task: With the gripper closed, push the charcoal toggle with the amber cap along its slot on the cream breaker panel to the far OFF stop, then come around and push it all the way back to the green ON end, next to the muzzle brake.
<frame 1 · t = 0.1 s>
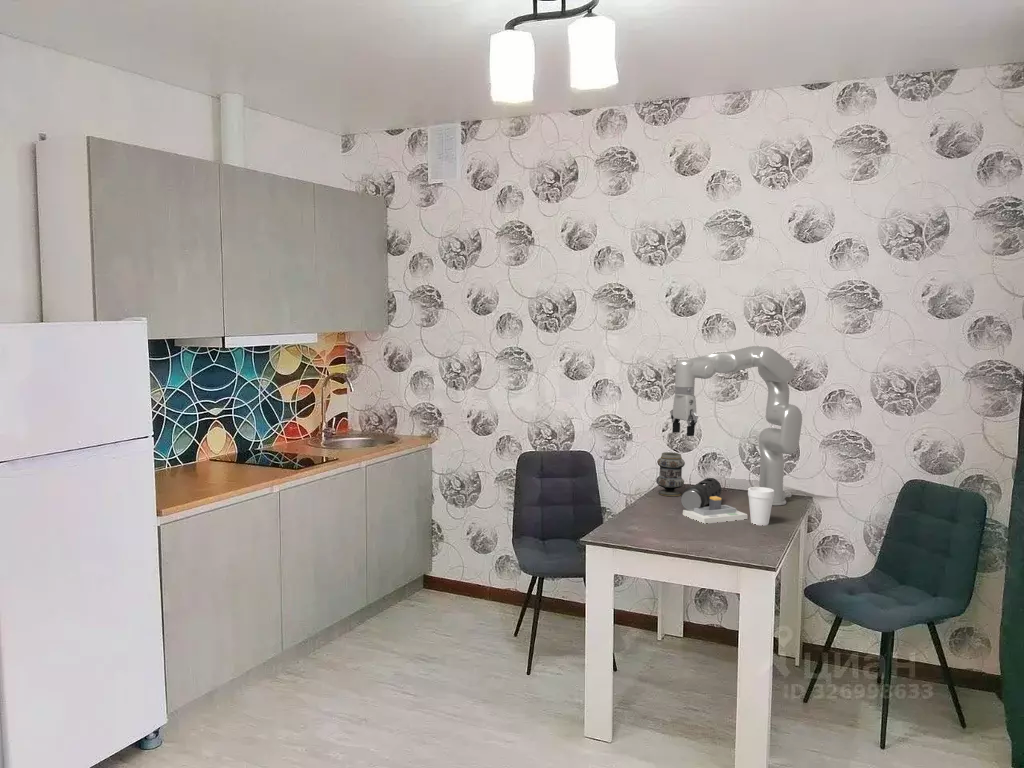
hand: (683, 434, 318), 31 cm above the table, tool pointing down, fingers open, 9 cm apart
foam cup: (759, 523, 304), on the table
apothecary jar: (669, 494, 352), on the table
breaker panel: (714, 517, 312), on the table
muzzle brake: (701, 508, 325), on the table, touching breaker panel
breaker lever: (715, 504, 311), point 5 cm above the table, slide at 0.0 cm
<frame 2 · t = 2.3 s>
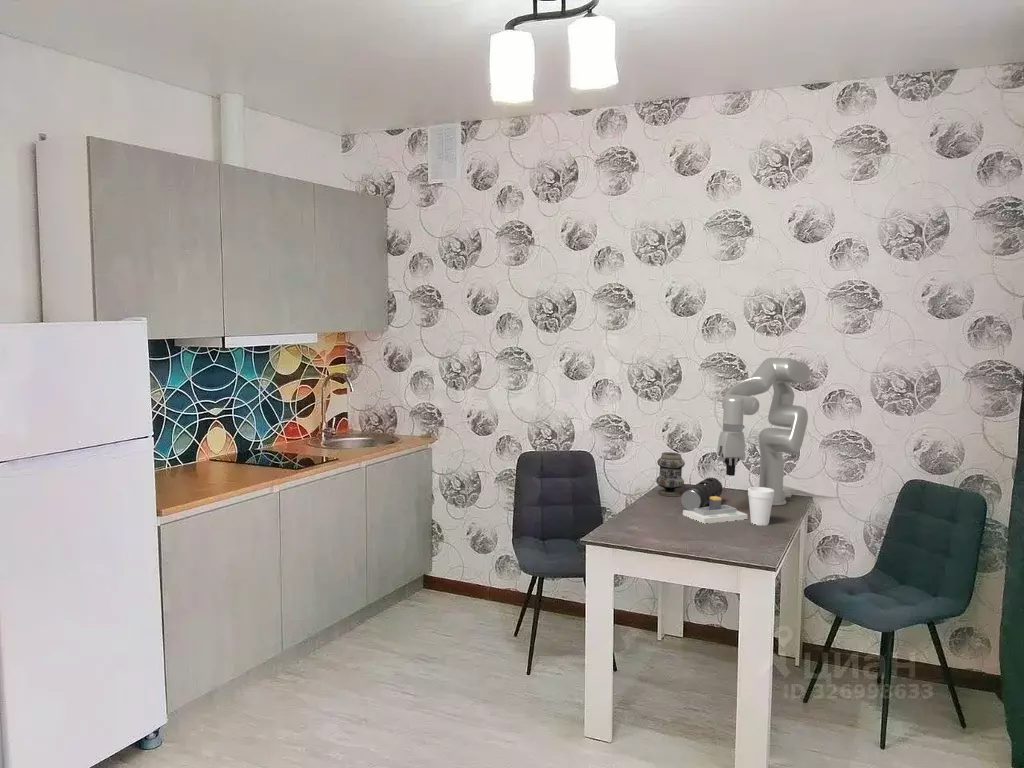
hand: (730, 475, 313), 16 cm above the table, tool pointing down, fingers closed
nothing on the table moved.
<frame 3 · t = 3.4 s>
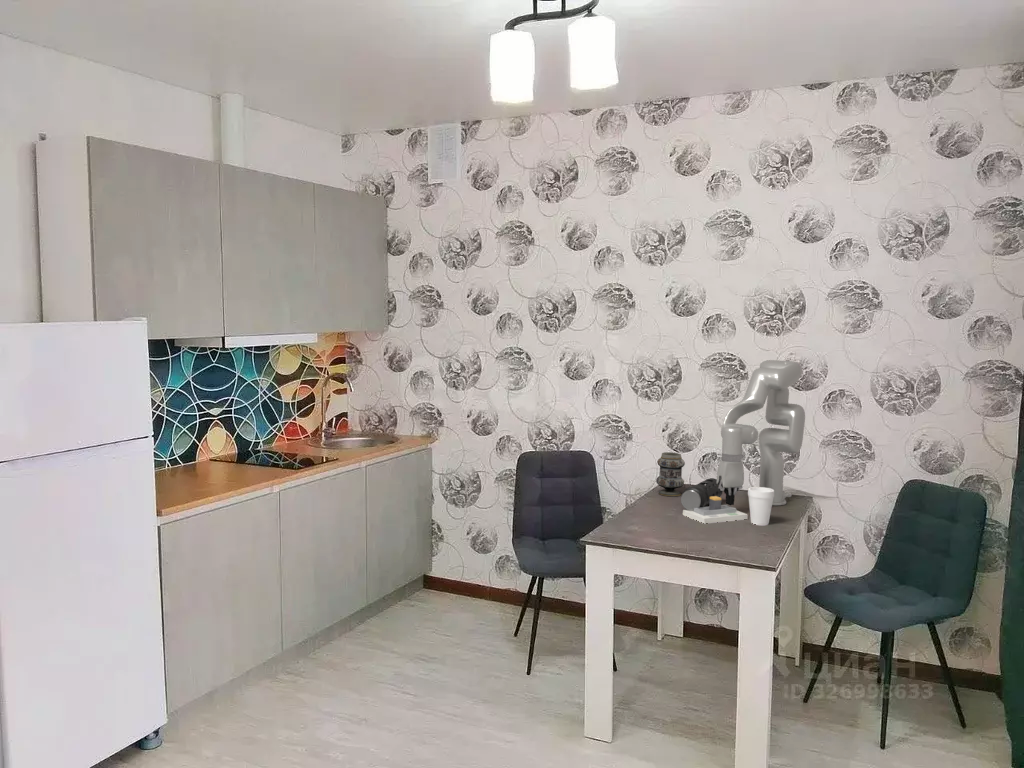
hand: (729, 504, 314), 5 cm above the table, tool pointing down, fingers closed
nothing on the table moved.
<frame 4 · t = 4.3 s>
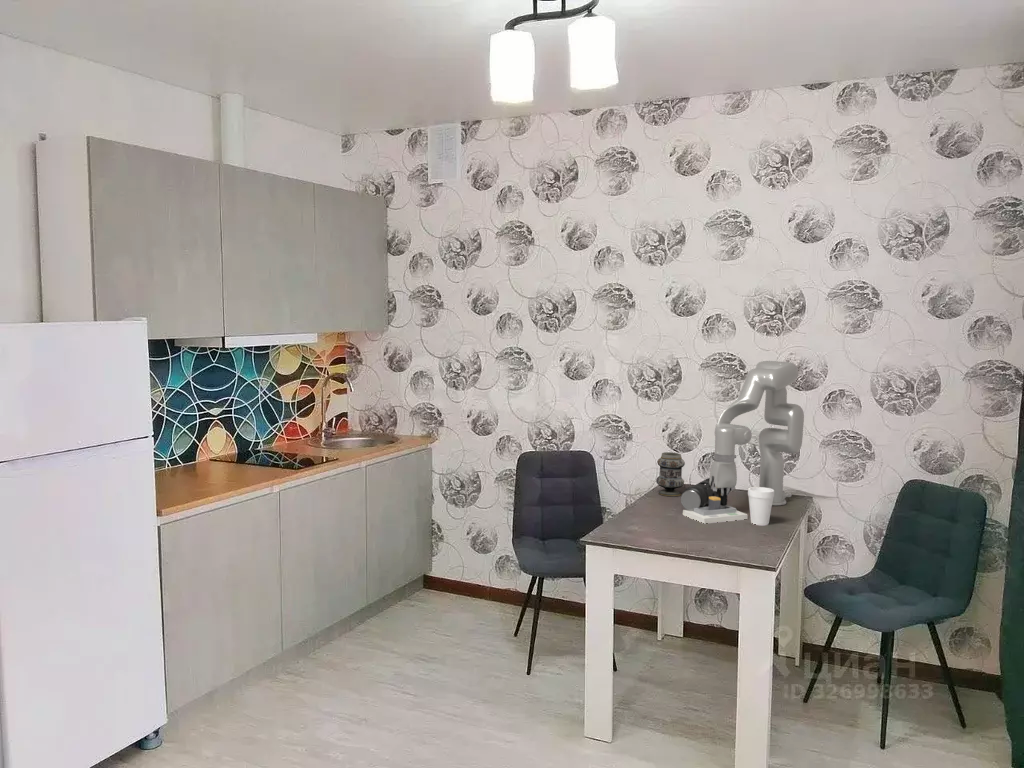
hand: (722, 504, 313), 5 cm above the table, tool pointing down, fingers closed
breaker lever: (714, 504, 311), point 5 cm above the table, slide at 0.4 cm, touching gripper
everything else where it was.
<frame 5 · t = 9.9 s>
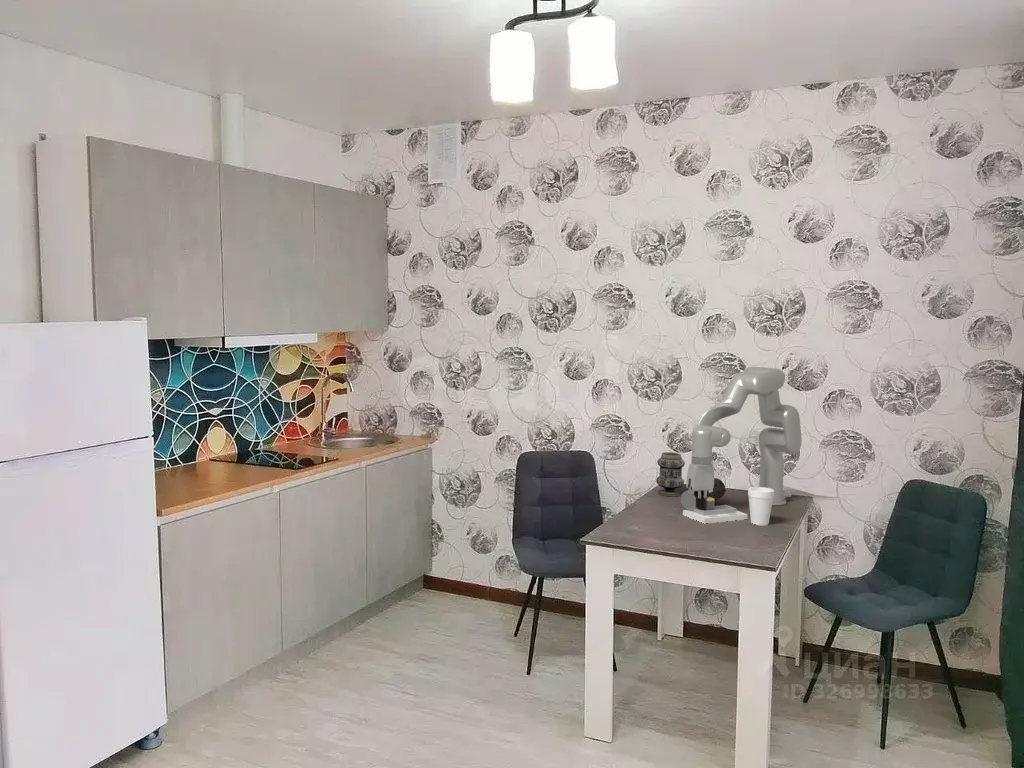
hand: (699, 507, 309), 4 cm above the table, tool pointing down, fingers closed
breaker lever: (708, 505, 310), point 5 cm above the table, slide at 3.1 cm, touching gripper
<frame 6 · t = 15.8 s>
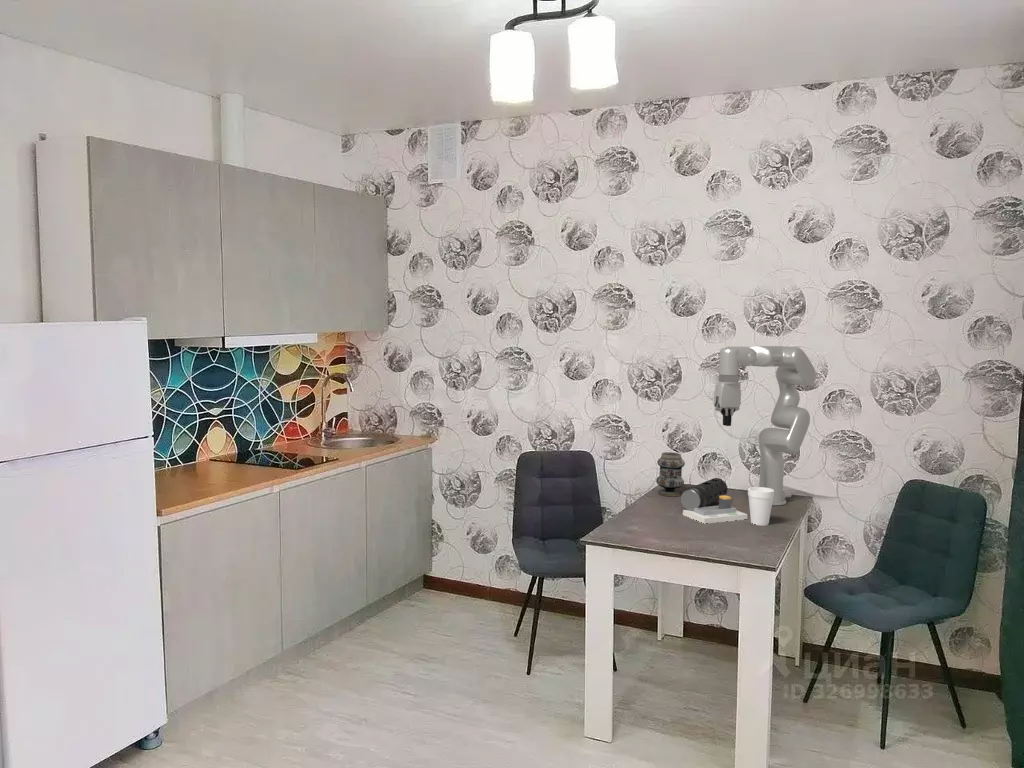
hand: (726, 425, 316), 35 cm above the table, tool pointing down, fingers closed
breaker lever: (724, 503, 313), point 5 cm above the table, slide at -4.5 cm
at the end: breaker lever slide at -4.5 cm; breaker lever 0.2 cm from the target spot on the breaker panel, point 5.0 cm above the breaker panel's base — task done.
